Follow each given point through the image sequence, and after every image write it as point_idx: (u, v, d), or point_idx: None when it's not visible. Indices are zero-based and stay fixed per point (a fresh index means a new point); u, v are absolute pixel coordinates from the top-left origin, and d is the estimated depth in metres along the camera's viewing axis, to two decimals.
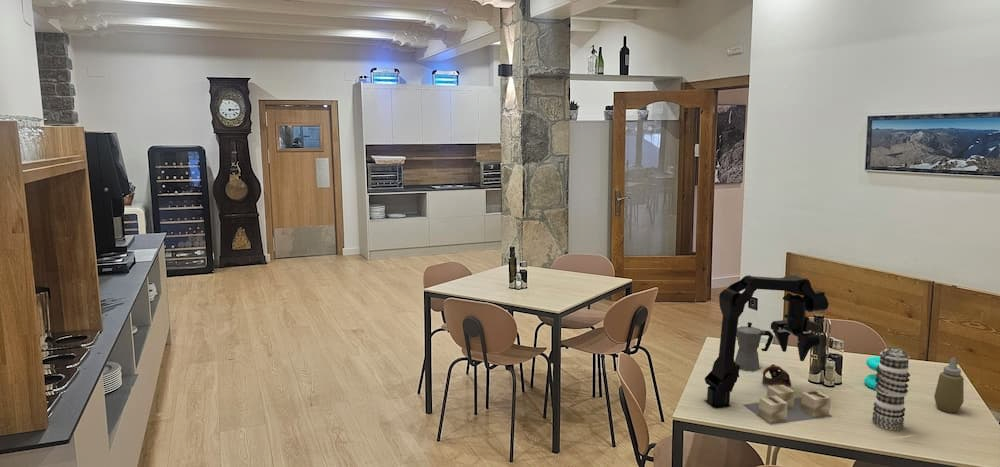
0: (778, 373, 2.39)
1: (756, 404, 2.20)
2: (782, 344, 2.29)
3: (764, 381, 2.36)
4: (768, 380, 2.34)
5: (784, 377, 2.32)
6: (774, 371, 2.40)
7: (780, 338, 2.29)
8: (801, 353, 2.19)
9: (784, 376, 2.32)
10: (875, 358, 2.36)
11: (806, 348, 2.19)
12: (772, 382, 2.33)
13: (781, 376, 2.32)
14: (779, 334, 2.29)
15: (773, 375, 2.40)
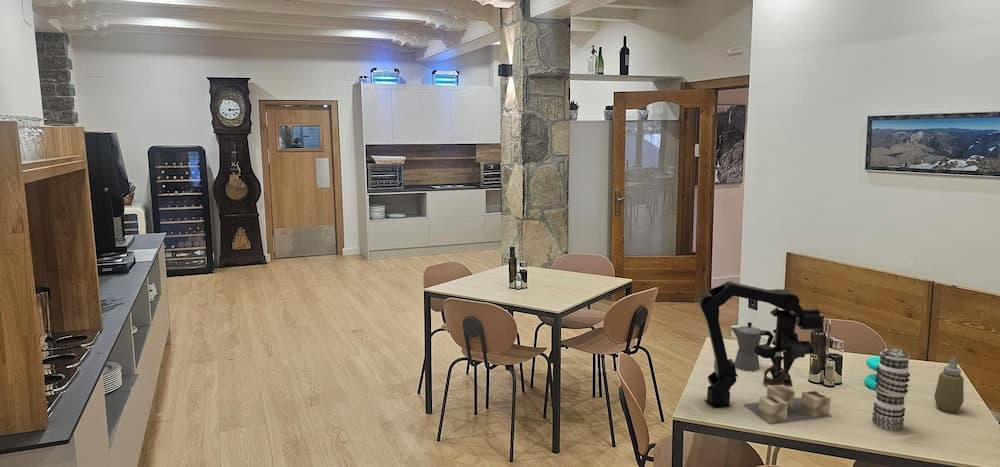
0: None
1: (756, 404, 2.20)
2: (784, 364, 2.18)
3: (765, 381, 2.35)
4: (769, 380, 2.33)
5: (785, 377, 2.32)
6: (775, 371, 2.39)
7: (784, 357, 2.18)
8: (773, 363, 2.17)
9: (785, 376, 2.32)
10: (875, 358, 2.36)
11: (776, 361, 2.15)
12: (773, 382, 2.33)
13: (782, 376, 2.32)
14: (784, 352, 2.18)
15: (774, 375, 2.40)
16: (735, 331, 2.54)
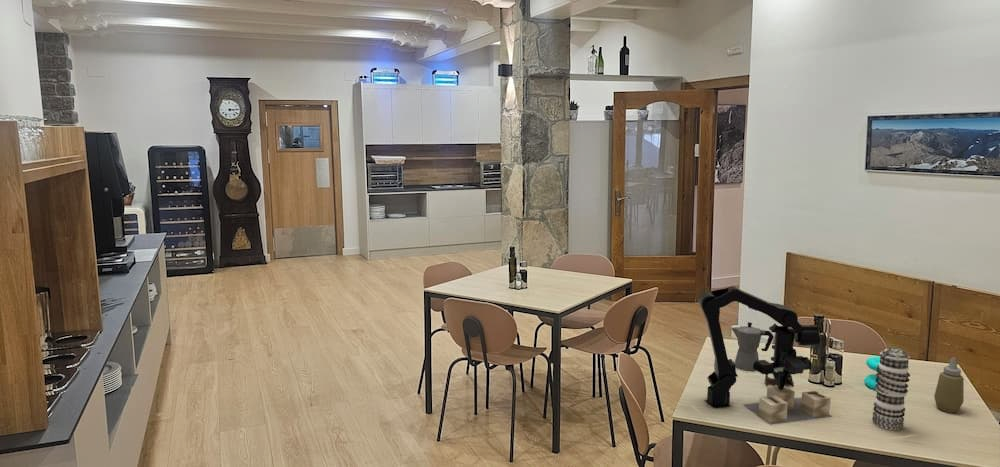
0: None
1: (756, 404, 2.20)
2: None
3: (767, 381, 2.35)
4: (771, 380, 2.33)
5: None
6: None
7: None
8: (775, 378, 2.18)
9: None
10: (875, 358, 2.36)
11: (778, 376, 2.16)
12: (775, 382, 2.32)
13: None
14: None
15: None
16: (735, 331, 2.54)
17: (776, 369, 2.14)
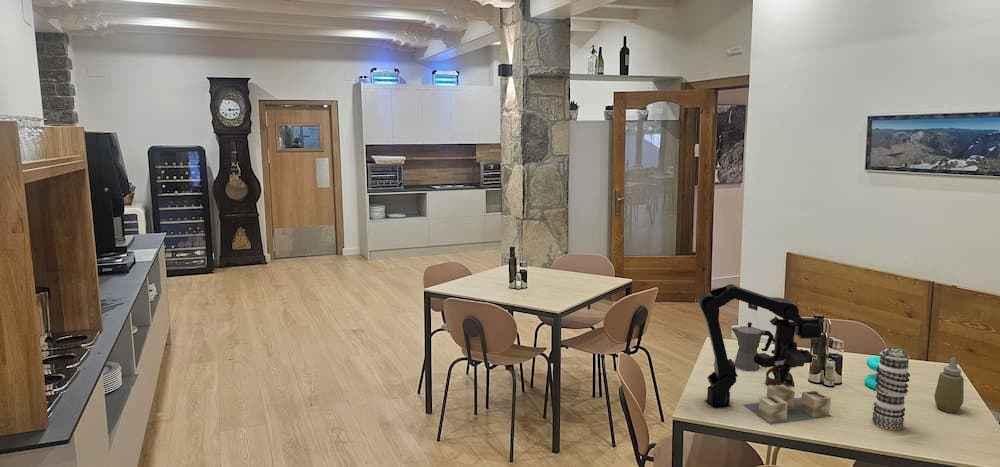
0: None
1: (756, 404, 2.20)
2: None
3: (767, 382, 2.35)
4: (771, 381, 2.33)
5: (787, 378, 2.32)
6: None
7: None
8: (775, 371, 2.18)
9: (787, 377, 2.32)
10: (875, 358, 2.36)
11: (779, 369, 2.16)
12: (775, 383, 2.32)
13: None
14: None
15: (776, 375, 2.40)
16: (735, 331, 2.54)
17: (777, 362, 2.14)
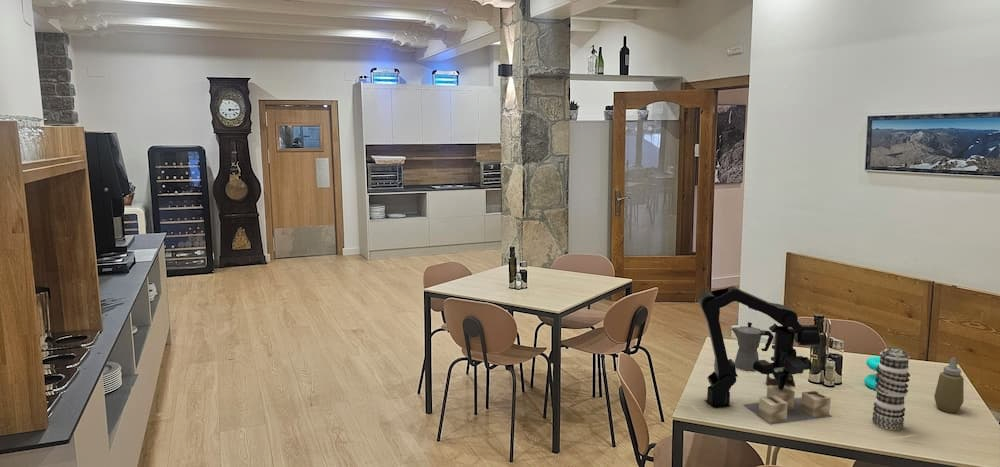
0: None
1: (756, 404, 2.20)
2: None
3: (768, 382, 2.35)
4: (772, 381, 2.33)
5: (788, 378, 2.32)
6: None
7: None
8: (775, 378, 2.18)
9: None
10: (875, 358, 2.36)
11: (778, 376, 2.16)
12: (776, 383, 2.32)
13: None
14: None
15: None
16: (735, 331, 2.54)
17: (776, 369, 2.14)
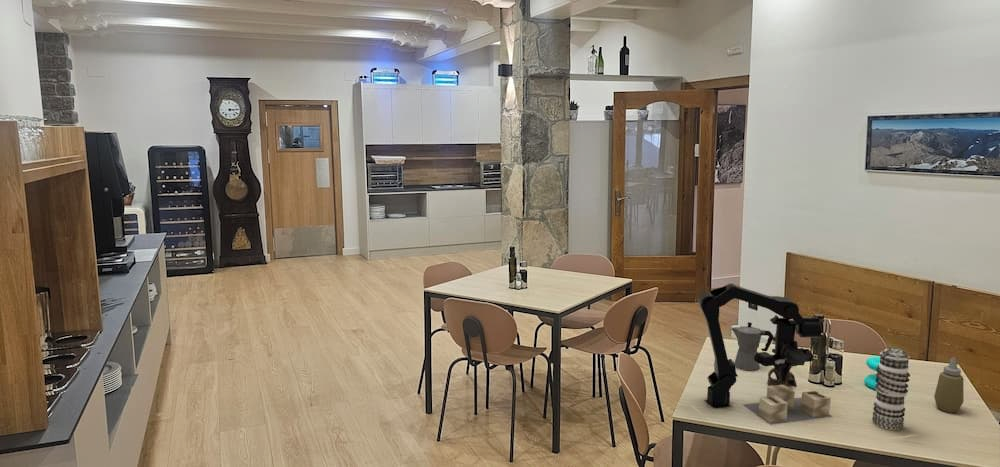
0: None
1: (756, 404, 2.20)
2: None
3: (769, 382, 2.35)
4: (774, 381, 2.33)
5: (790, 378, 2.31)
6: None
7: None
8: (776, 371, 2.18)
9: (790, 377, 2.32)
10: (875, 358, 2.36)
11: (780, 368, 2.16)
12: (778, 383, 2.32)
13: (787, 377, 2.31)
14: None
15: None
16: (735, 331, 2.54)
17: (777, 361, 2.14)
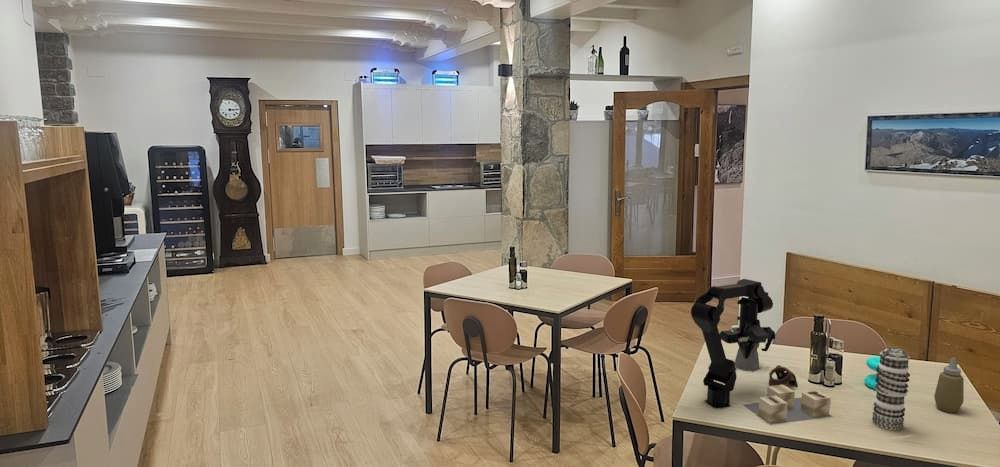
0: (784, 374, 2.38)
1: (756, 404, 2.20)
2: None
3: (771, 382, 2.35)
4: (775, 381, 2.32)
5: (791, 378, 2.31)
6: (780, 372, 2.39)
7: None
8: (740, 348, 2.28)
9: (791, 377, 2.32)
10: (875, 358, 2.36)
11: (743, 346, 2.27)
12: (779, 383, 2.32)
13: (788, 377, 2.31)
14: None
15: (779, 376, 2.39)
16: (735, 331, 2.54)
17: (741, 339, 2.24)
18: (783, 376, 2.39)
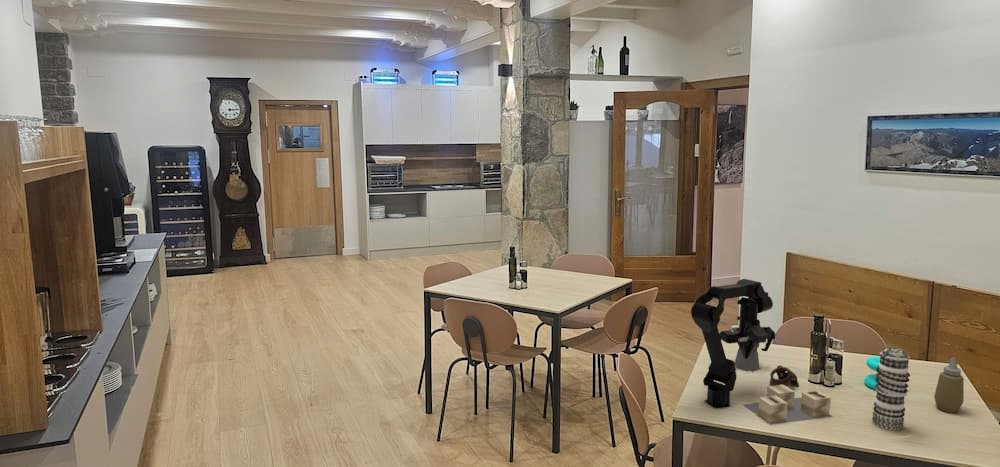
0: (785, 374, 2.38)
1: (756, 404, 2.20)
2: None
3: (772, 382, 2.34)
4: (776, 381, 2.32)
5: (792, 378, 2.31)
6: (781, 372, 2.38)
7: None
8: (740, 348, 2.28)
9: (792, 377, 2.31)
10: (875, 358, 2.36)
11: (743, 346, 2.27)
12: (780, 383, 2.32)
13: (789, 377, 2.31)
14: None
15: (780, 376, 2.39)
16: (735, 331, 2.54)
17: (741, 339, 2.24)
18: (784, 376, 2.39)
